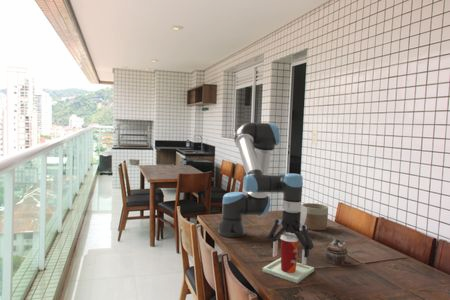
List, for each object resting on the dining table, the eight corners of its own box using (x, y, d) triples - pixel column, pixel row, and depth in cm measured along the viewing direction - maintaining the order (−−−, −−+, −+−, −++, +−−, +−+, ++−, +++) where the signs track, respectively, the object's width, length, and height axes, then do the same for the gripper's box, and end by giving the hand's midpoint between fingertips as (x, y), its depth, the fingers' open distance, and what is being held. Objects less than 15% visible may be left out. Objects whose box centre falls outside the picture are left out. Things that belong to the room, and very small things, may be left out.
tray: (262, 271, 143) (262, 267, 143) (280, 261, 156) (280, 257, 155) (297, 283, 133) (297, 279, 133) (313, 271, 146) (314, 267, 146)
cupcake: (327, 256, 165) (328, 235, 164) (348, 260, 160) (349, 239, 160) (323, 262, 156) (324, 241, 156) (345, 267, 152) (346, 245, 151)
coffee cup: (298, 275, 139) (300, 239, 139) (278, 272, 141) (279, 237, 140) (298, 267, 148) (300, 233, 147) (278, 264, 149) (280, 231, 148)
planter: (329, 227, 217) (331, 205, 216) (322, 232, 203) (324, 210, 202) (305, 222, 225) (307, 202, 224) (297, 227, 212) (298, 206, 211)
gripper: (261, 206, 148) (259, 254, 149) (316, 217, 132) (313, 271, 133) (270, 204, 153) (268, 250, 155) (323, 214, 138) (320, 265, 139)
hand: (288, 260), depth 144 cm, fingers open, 13 cm apart
